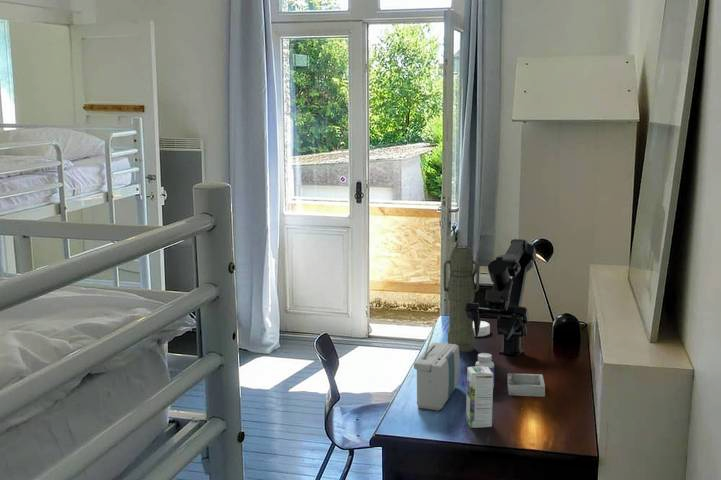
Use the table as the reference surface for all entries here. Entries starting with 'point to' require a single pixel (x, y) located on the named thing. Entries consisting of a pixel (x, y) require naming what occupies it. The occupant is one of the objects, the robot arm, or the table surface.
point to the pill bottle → (486, 362)
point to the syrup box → (479, 397)
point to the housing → (526, 385)
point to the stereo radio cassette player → (437, 374)
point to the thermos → (461, 296)
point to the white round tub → (482, 329)
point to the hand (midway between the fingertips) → (491, 337)
